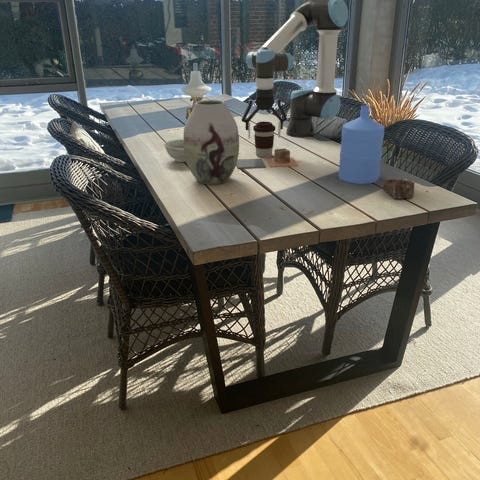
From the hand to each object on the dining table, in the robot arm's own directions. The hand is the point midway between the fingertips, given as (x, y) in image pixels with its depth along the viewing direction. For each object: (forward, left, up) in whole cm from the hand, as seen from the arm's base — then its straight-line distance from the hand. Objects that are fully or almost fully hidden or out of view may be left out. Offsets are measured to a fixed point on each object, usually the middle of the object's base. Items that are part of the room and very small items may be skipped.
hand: (264, 137), depth 220 cm
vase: (+25, +32, -9) cm, 41 cm away
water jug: (-32, +38, -9) cm, 50 cm away
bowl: (+37, +2, -9) cm, 38 cm away
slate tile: (+8, +13, -9) cm, 17 cm away
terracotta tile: (-6, +13, -9) cm, 17 cm away
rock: (-40, +61, -10) cm, 74 cm away
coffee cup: (0, 0, -9) cm, 9 cm away
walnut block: (-6, +13, -8) cm, 16 cm away
